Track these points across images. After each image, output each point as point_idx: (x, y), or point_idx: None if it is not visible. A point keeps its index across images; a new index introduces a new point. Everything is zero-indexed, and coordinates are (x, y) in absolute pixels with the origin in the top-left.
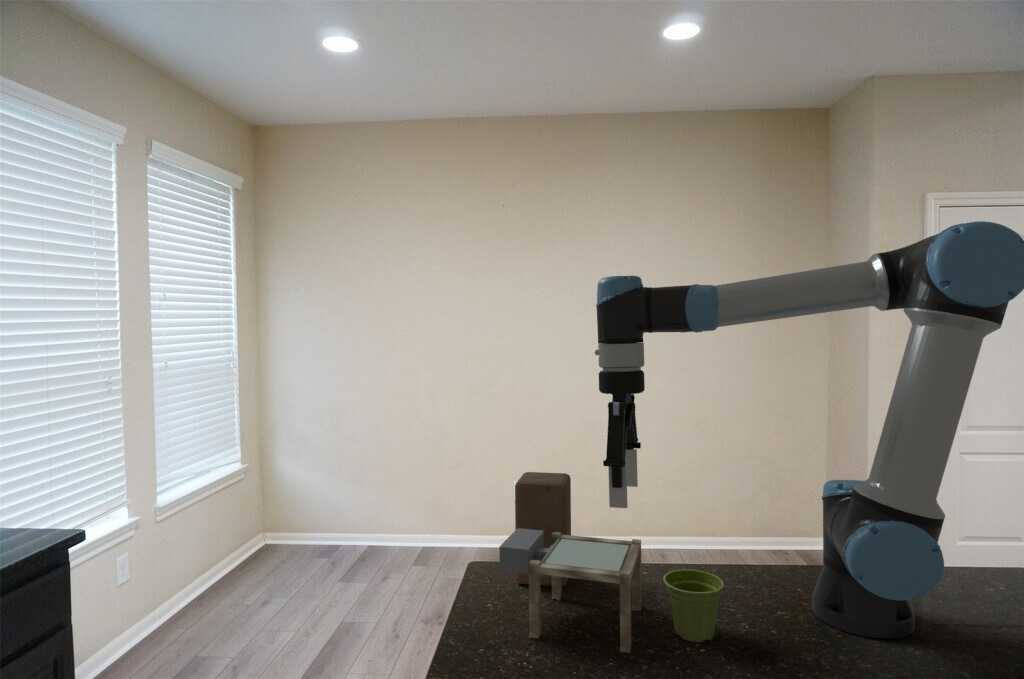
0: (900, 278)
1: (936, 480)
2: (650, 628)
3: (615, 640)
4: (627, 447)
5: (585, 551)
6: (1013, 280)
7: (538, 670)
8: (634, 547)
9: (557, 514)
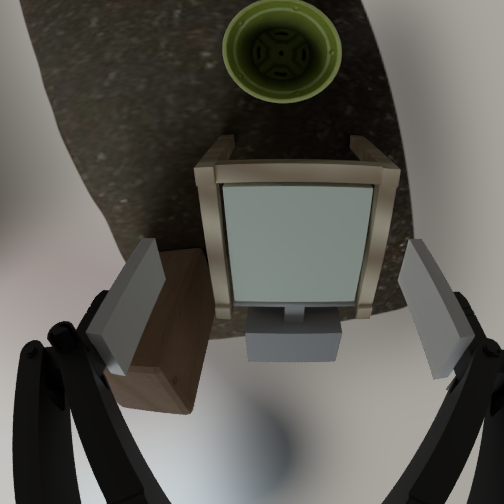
0: None
1: None
2: (285, 113)
3: (334, 156)
4: (99, 364)
5: (286, 257)
6: None
7: (413, 229)
8: (234, 174)
9: (180, 332)
